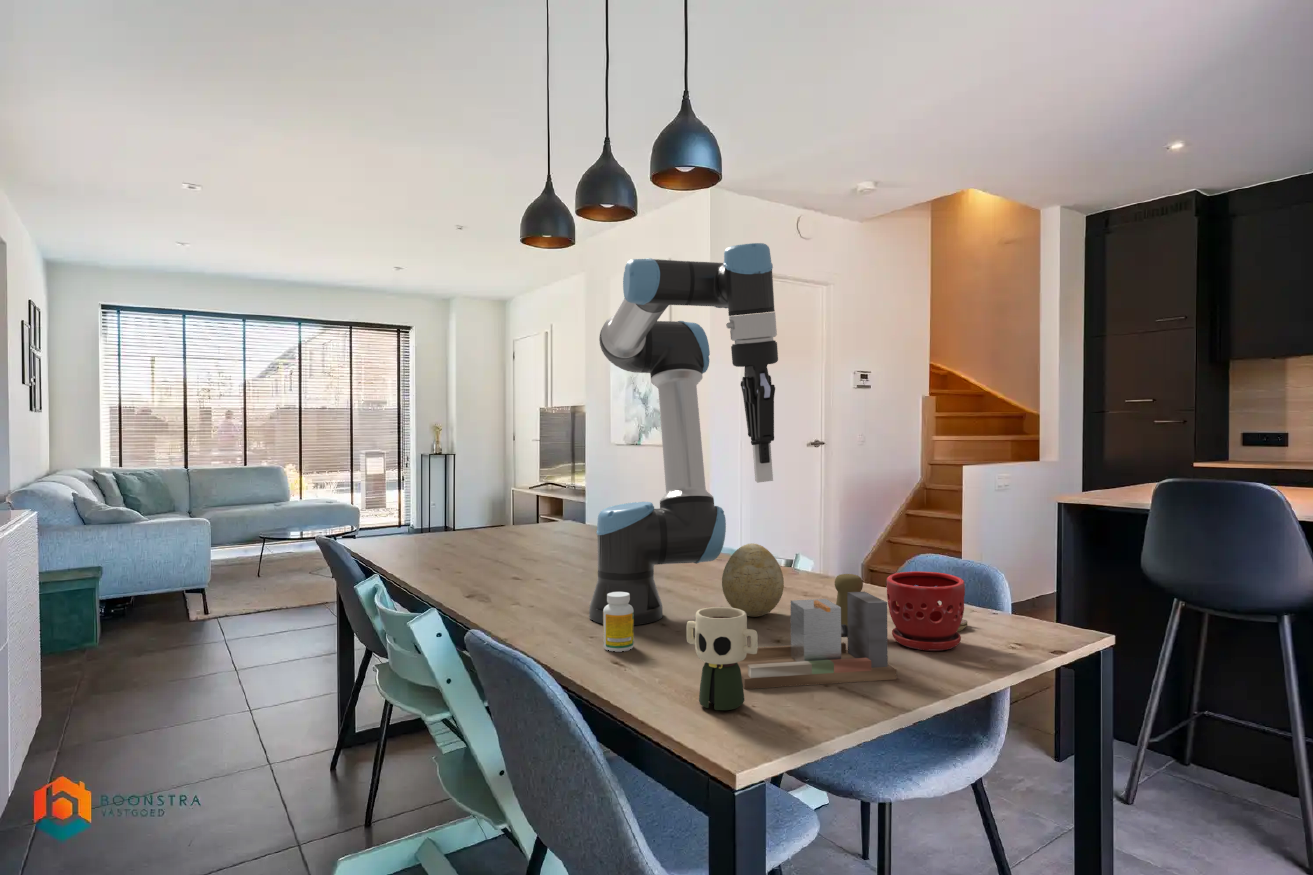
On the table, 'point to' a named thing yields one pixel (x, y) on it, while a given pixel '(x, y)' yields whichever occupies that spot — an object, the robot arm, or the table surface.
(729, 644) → the character mug
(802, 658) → the grey cube with stick
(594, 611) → the robot arm
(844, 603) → the olive knobbed pawn
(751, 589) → the fossilized egg
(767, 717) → the table surface
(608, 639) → the supplement bottle
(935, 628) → the plant pot
